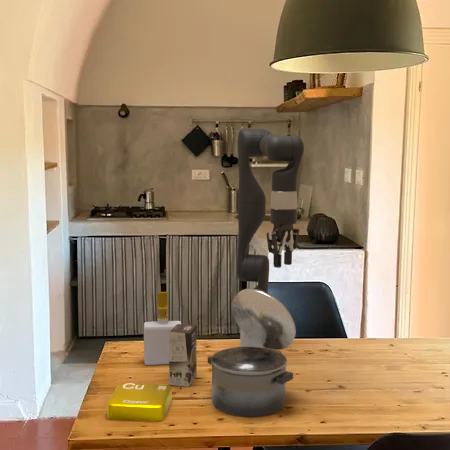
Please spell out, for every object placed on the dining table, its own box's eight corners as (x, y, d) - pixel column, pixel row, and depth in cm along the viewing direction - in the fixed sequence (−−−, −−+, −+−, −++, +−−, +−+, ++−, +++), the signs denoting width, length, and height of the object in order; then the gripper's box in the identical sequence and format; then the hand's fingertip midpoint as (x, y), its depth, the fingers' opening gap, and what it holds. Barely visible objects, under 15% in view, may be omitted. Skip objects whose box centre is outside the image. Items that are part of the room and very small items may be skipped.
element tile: (104, 420, 154) (104, 402, 153) (119, 397, 168) (119, 380, 168) (163, 423, 152) (163, 405, 152) (172, 399, 167) (172, 382, 167)
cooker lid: (241, 341, 178) (246, 335, 180) (300, 356, 166) (305, 349, 168) (224, 286, 169) (229, 280, 171) (284, 297, 157) (290, 291, 159)
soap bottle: (144, 366, 192) (143, 293, 189) (144, 359, 198) (143, 289, 196) (182, 364, 194) (182, 292, 191) (181, 357, 200) (181, 288, 198)
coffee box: (189, 387, 175) (189, 333, 173) (168, 385, 176) (168, 331, 174) (197, 375, 184) (197, 324, 182) (177, 374, 185) (177, 322, 183)
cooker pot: (237, 378, 182) (237, 339, 181) (309, 399, 167) (310, 357, 165) (189, 401, 165) (189, 358, 164) (264, 427, 150) (265, 380, 148)
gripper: (286, 204, 180) (285, 261, 182) (258, 207, 168) (257, 268, 170) (308, 206, 175) (306, 264, 177) (281, 209, 164) (279, 271, 166)
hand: (282, 265), depth 174 cm, fingers open, 5 cm apart
